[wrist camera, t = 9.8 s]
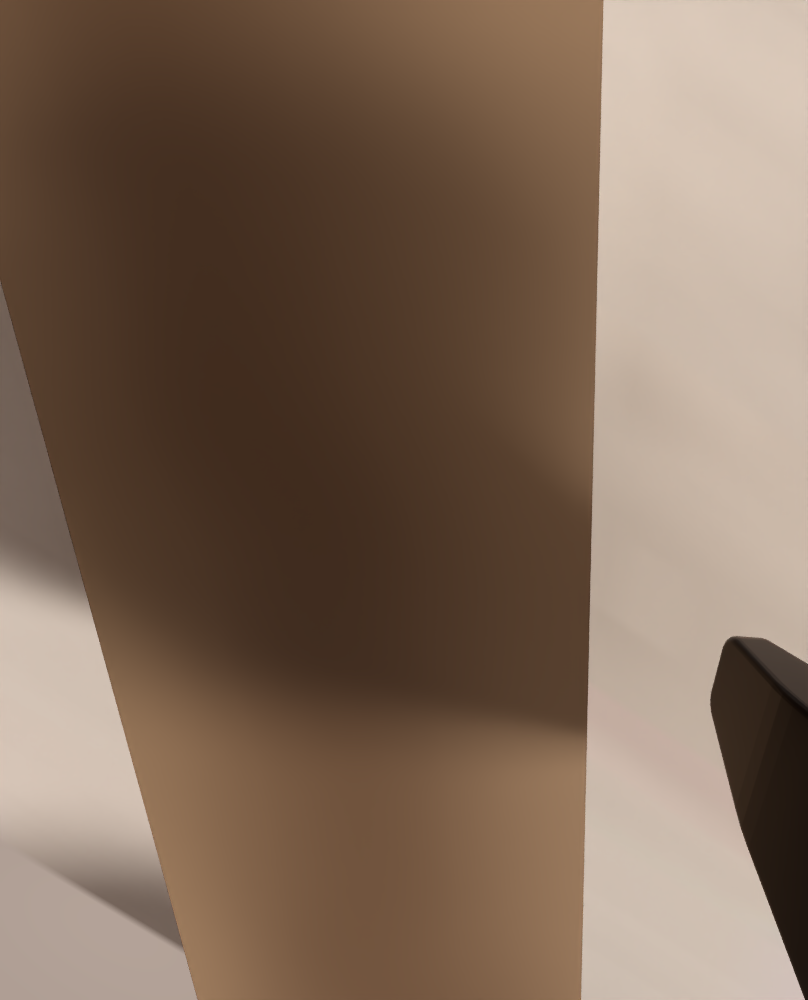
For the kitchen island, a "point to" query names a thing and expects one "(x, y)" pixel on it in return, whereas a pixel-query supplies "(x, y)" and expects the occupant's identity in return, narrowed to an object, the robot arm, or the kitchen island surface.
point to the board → (327, 460)
